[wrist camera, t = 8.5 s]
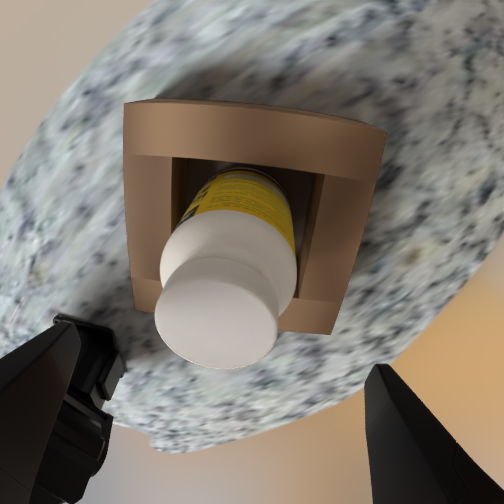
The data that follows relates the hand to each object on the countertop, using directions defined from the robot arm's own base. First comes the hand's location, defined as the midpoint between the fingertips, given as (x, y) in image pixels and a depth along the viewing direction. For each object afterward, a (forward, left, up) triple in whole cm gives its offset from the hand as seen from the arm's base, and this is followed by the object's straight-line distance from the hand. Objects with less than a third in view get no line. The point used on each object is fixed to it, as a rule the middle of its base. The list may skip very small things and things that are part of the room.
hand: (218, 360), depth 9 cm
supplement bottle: (0, 0, -11) cm, 11 cm away
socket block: (0, 0, -12) cm, 12 cm away
